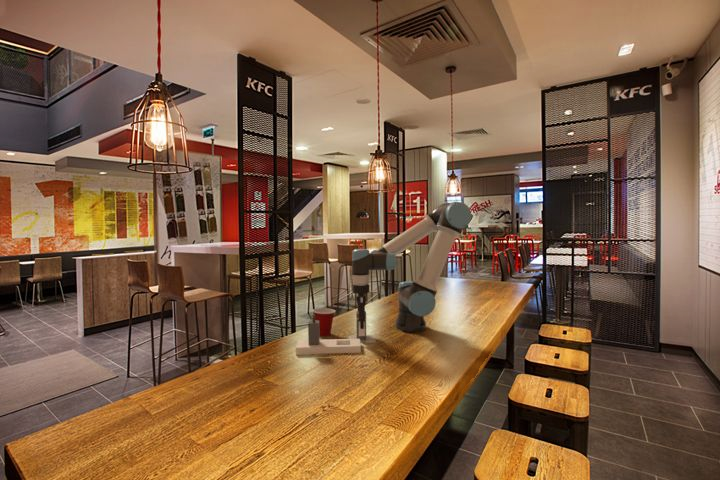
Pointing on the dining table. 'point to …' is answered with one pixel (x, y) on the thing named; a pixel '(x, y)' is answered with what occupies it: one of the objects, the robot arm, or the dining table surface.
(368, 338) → the white flat slab
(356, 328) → the plug
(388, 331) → the dining table surface
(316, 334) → the socket stand
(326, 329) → the plastic cup
